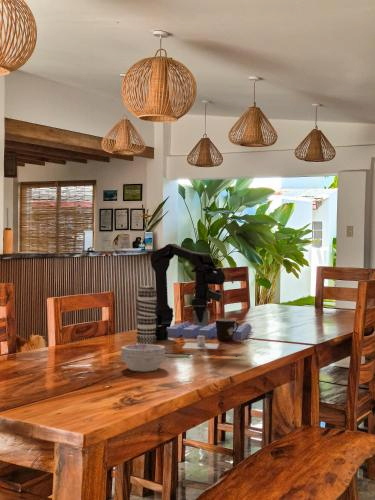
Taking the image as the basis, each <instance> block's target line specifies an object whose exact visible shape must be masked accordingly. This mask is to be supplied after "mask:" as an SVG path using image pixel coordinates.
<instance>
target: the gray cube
mask: <svg viewBox="0 0 375 500" xmlns="http://www.w3.org/2000/svg"><path fill="white" fill-rule="evenodd" d="M210 314H211V313H210V310H206V311H204V315H203V320H202V322H199V320H198V318H197V315H196V313H195V310H194V311H193V324H192V325H196V326H208V325H210V320H211V319H210Z"/></svg>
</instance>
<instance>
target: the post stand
mask: <svg viewBox="0 0 375 500" xmlns="http://www.w3.org/2000/svg"><path fill="white" fill-rule="evenodd" d="M196 338H197V339H196V342H186V343H185V344H184V345H183V346H182V348H181V349H191V350H192V349H198V350H218V347H219V346H220V343H210V342H209V343H206V339H205V336H197V337H196Z"/></svg>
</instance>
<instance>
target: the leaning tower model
mask: <svg viewBox="0 0 375 500" xmlns="http://www.w3.org/2000/svg"><path fill="white" fill-rule="evenodd" d="M137 291H138V296H137V299H135V300H136V302H137V303H136V306H137V307H136V310H137V312H136V315H137V316H136V317H137V328H136V331H137V332H136V334H137V336H136V345H137V344H151V345H155V344H156V341H157V340H156V338H157V336H156V335H155V334H156V333H157V332H155V331H156V330H157V329H156V323H155V322H156V318H157V316H155V314H157V312H156V311H155V310H157V308H155V307H156V306H157V305H158V304H157V302H158V300H157V299H156V287H155V286H153V285H141V286H140V287H139V288H138V289H137ZM157 342H158V341H157Z"/></svg>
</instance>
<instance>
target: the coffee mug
mask: <svg viewBox="0 0 375 500" xmlns="http://www.w3.org/2000/svg"><path fill="white" fill-rule="evenodd" d="M215 322H216V330H217V339H216V340H217V341H220V342H232V341H233V334H234V333H235V332H236V330H237V329H238V327H239V323H238V322H237V321H236V319H234V318H233V319H231V318H216V319H215ZM235 324H236V326H237V328H236V330H235V331H234V325H235Z"/></svg>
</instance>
